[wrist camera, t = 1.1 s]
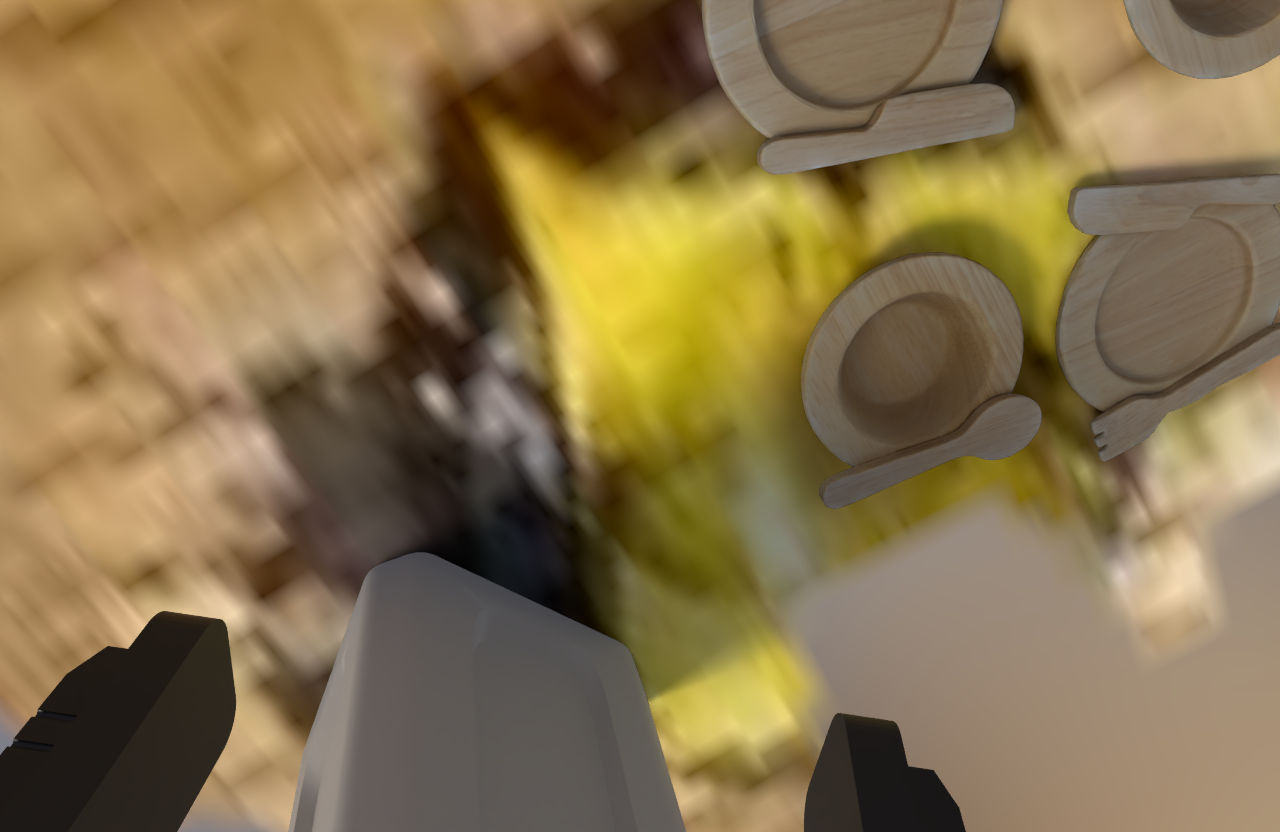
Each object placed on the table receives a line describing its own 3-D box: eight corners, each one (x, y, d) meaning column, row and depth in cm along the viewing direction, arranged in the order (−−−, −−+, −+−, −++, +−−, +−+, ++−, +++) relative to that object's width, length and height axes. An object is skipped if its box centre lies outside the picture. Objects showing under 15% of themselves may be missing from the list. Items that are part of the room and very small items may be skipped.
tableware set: (657, -189, 35) (682, -210, 31) (1338, -358, 37) (1435, -396, 34) (792, 541, 51) (819, 583, 47) (1265, 392, 53) (1326, 421, 49)
